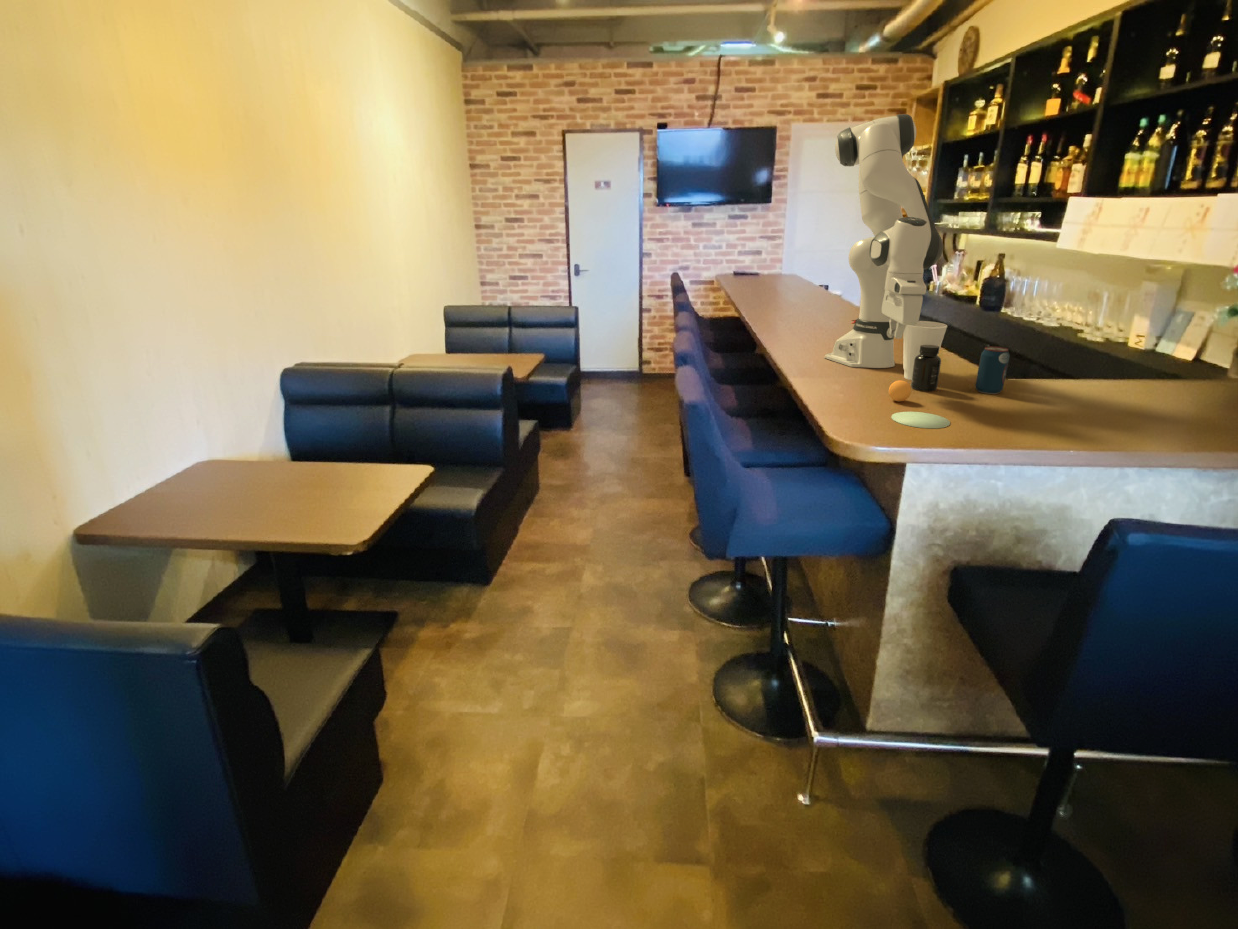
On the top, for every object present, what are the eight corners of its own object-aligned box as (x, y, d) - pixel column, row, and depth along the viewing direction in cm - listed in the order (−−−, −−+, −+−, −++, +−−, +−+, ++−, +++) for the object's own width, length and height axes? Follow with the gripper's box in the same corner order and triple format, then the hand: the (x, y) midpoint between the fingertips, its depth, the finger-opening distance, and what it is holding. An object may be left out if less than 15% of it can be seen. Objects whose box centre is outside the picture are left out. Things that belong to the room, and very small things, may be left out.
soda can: (1007, 394, 189) (1016, 351, 184) (981, 394, 189) (989, 350, 185) (994, 388, 195) (1003, 345, 191) (969, 388, 195) (977, 345, 191)
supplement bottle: (932, 386, 197) (939, 344, 193) (940, 392, 191) (947, 348, 187) (907, 385, 198) (913, 343, 194) (914, 391, 192) (921, 348, 187)
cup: (886, 375, 210) (894, 321, 204) (919, 372, 213) (927, 319, 207) (913, 384, 199) (922, 328, 193) (947, 381, 202) (957, 326, 197)
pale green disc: (879, 417, 168) (879, 416, 168) (914, 409, 175) (914, 408, 175) (926, 431, 158) (926, 430, 158) (961, 423, 164) (961, 422, 164)
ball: (882, 400, 183) (885, 379, 181) (896, 397, 186) (899, 377, 184) (900, 405, 179) (903, 384, 177) (914, 402, 181) (917, 381, 179)
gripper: (879, 279, 191) (872, 329, 196) (903, 288, 172) (894, 343, 177) (903, 279, 190) (895, 330, 195) (929, 288, 171) (920, 344, 176)
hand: (895, 336), depth 186 cm, fingers open, 3 cm apart
